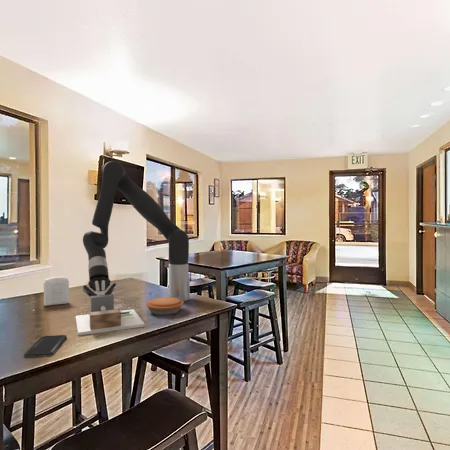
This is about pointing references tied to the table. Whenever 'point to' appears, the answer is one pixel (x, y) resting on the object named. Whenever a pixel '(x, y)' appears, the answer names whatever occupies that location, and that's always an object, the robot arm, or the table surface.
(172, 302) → the pie
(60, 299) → the photo printer
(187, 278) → the robot arm
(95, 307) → the gauge carriage
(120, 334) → the table surface
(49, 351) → the phone
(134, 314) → the base
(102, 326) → the brown wooden block
